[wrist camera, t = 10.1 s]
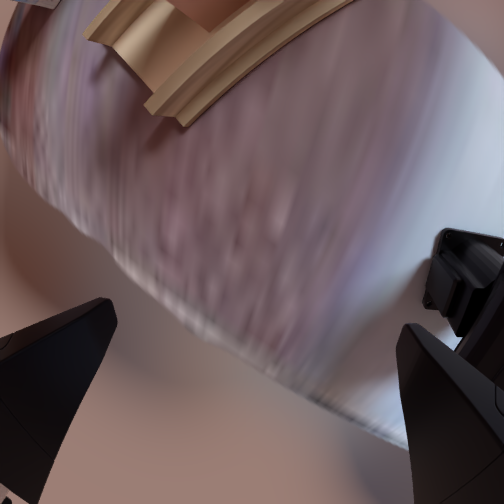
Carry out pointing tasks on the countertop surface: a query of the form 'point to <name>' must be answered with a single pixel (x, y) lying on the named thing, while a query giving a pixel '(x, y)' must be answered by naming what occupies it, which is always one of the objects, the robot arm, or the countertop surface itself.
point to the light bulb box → (41, 3)
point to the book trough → (199, 46)
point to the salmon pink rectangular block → (208, 10)
